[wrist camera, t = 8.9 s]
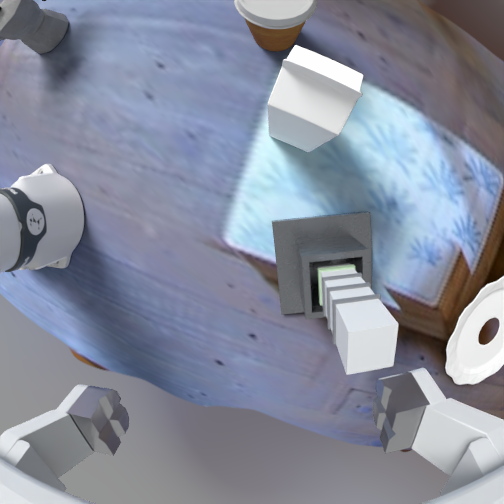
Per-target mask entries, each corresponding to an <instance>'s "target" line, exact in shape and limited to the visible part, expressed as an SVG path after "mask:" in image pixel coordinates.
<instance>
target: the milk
mask: <svg viewBox="0 0 504 504" xmlns="http://www.w3.org/2000/svg"><path fill="white" fill-rule="evenodd" d="M362 79H363V75H362V74H361V73H359V72H357V71H355V70H353V69H351V68H349V67H346V66H344V65H342V64H340V63H338V62H336V61H334V60H331V59H329V58H327V57H324V56H322V55H320V54H317V53H315V52H313V51H310V50H308V49H305V48H302V47H300V46H297V45H295V46H294V47H293V49H292V51H291V52H290V54H289V56H288V57H287V59H284V60H283V63H282V68H281V70H280V73H279V76H278V78H277V81H276V83H275V86H274V88H273V91H272V93H271V96H270V99H269V101H268V121H269V136H271V137H273V138H276V139H278V140H280V141H283V142H285V143H288V144H290V145H292V146H294V147H297V148H299V149H301V150H304V151H306V152H308V153H309V152H311V151H312V150H314V149H316V148H317V147H319V146H321V145H322V144H324V143H326V142H328V141H329V140H331V139H333V138H335V137H336V136H338V135H339V134H340V132H341V131H342V129H343V127H344V125H345V123H346V121H347V119H348V117H349V115H350V113H351V111H352V109H353V107H354V106H355V104H356V102H357V100H358V99H359V98H360V97H361V96H362V93H361V92H360V88H361V84H362Z"/></svg>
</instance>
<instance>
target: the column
mask: <svg viewBox="0 0 504 504" xmlns="http://www.w3.org/2000/svg"><path fill="white" fill-rule="evenodd" d="M318 286H319V303H320V306H321V305H322V306H323V315H324V316H326V317H327V322H328V330H329V329H331V331H332V334H333V344H334V345H337V348H338V351H339V354H340V357H341V359H342V362H343V365H344V368H345V371H346V374H354V373H360V372H365V371H371V370H376V369H382V368H387V367H391V366H393V363H394V357H395V349H396V341H397V332H398V323H397V322H396V320H395V319H394V318H393V316H392V315H391V314H390V313H389V311H388V310H387V309H386V307H385V306H384V305H383V304H382V302H381V301H380V300H381V296H380V295H379V294H374V292H373V291H372V290H371V284H370V283H369V282H368V283H366V282H365V281H364V280H363V279H362V274H361V273H357V272H356V270H355V265H354V264H353V265H351V264H350V263H344V264H335V265H326V266H318Z"/></svg>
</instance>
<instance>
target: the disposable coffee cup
mask: <svg viewBox="0 0 504 504" xmlns="http://www.w3.org/2000/svg"><path fill="white" fill-rule="evenodd" d="M234 2H235V6H236V8H237V10H238V12H239V13H240V14H241V15H242V16H243V17H244V18H245V20H246V23H247V25H248V27H249V29H250V31H251V33H252V35H253V37H254V39H255V41H256V43H257V44H258V45H259V46H261V47H262V48H264V49H266V50H269V51H282V50H286V49H288V48H289V47H291V46H292V45H293V44H294V42H295V41H296V39H297V37H298V35H299V33H300V31H301V29H302V27H303V26H304V24H305V22H306V20H308V19H309V18H310V17H311V16H312V15H313V13H314V11H315V10H316V6H317V0H234Z"/></svg>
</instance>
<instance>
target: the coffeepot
mask: <svg viewBox="0 0 504 504" xmlns="http://www.w3.org/2000/svg"><path fill="white" fill-rule="evenodd" d="M42 1H46V0H42ZM68 24H69V22H68V20H67V18H66V17H65V15H64V14H61V13H57V12H54V11H50V10H47V9H40V8H39V6H38V4H37V3H36V2H34V1H33V0H3V1H2V3H1V4H0V41H1V40H4V39H11V40H16V39H20V40H21V41H22V42H23V43H24V44H26V45H27V46H28V47H30V48H31V49H32V50H34V51H35V52H37V53H38V54H40V53H46V52H49V51H51V50H52V49H53V48H55V47H56V46H57V45H58V44H59V42H60V41H61V40H62V39H63V37H64V35H65V33H66V31H67V28H68Z"/></svg>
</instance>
